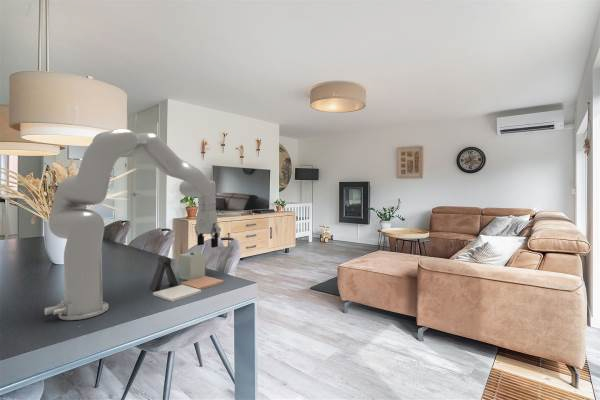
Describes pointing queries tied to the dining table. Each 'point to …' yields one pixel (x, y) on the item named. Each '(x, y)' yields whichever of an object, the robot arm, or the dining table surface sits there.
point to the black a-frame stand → (159, 275)
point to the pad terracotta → (202, 282)
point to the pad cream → (177, 292)
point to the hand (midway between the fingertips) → (207, 246)
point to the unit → (191, 265)
